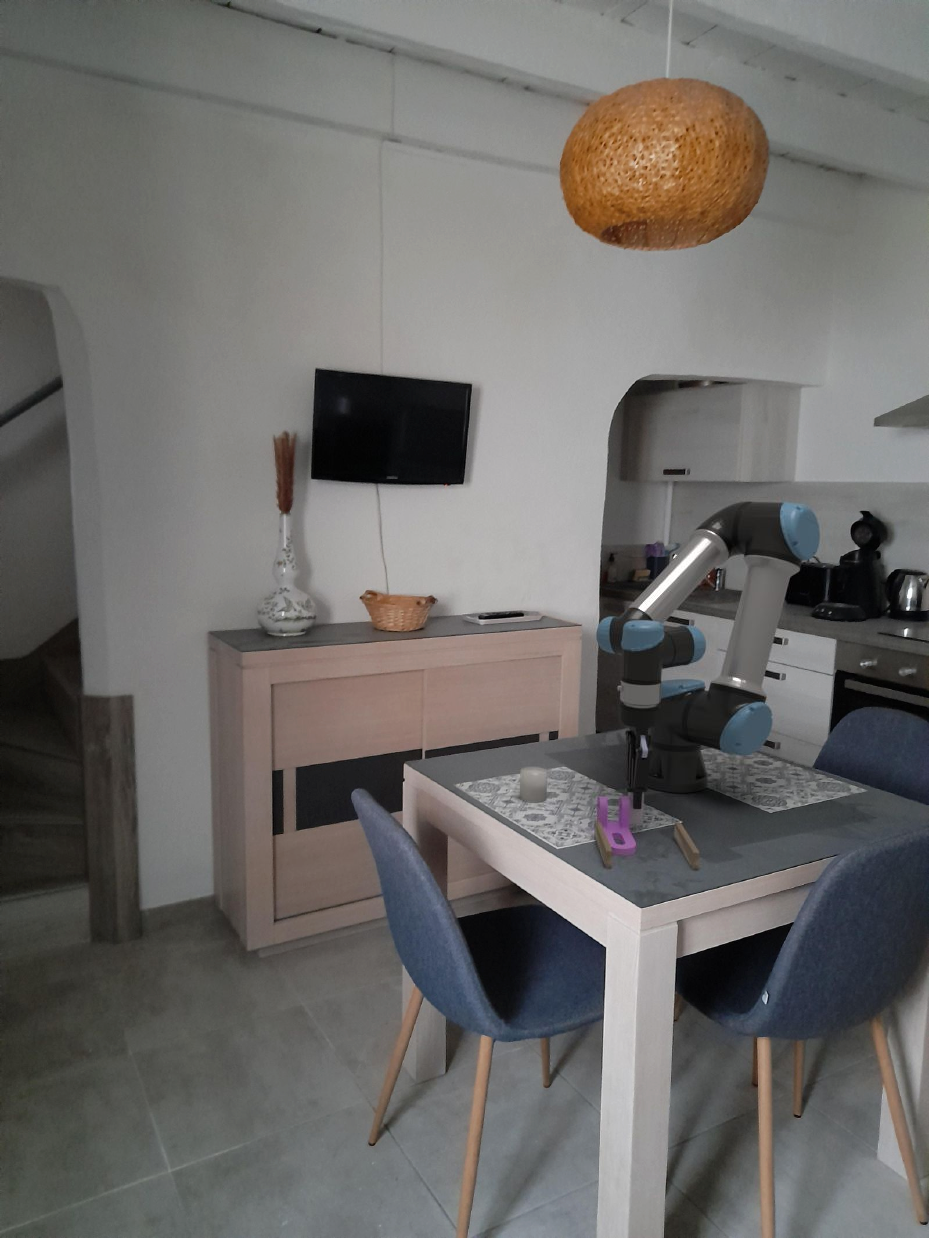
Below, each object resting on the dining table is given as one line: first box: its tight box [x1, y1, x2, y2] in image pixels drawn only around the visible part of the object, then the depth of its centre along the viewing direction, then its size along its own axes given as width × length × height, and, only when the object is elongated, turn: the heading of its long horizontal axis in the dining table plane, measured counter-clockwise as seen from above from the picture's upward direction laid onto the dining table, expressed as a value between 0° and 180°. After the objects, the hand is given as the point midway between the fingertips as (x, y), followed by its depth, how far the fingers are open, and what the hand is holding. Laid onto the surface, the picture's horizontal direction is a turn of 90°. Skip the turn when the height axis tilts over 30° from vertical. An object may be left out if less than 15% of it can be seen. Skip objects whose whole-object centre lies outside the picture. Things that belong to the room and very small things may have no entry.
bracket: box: [596, 795, 637, 856], centre depth 163 cm, size 13×6×7 cm, turn 0°
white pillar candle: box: [519, 766, 548, 804], centre depth 185 cm, size 6×6×6 cm
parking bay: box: [593, 820, 701, 870], centre depth 159 cm, size 16×14×3 cm
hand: (635, 822), depth 170 cm, fingers closed
